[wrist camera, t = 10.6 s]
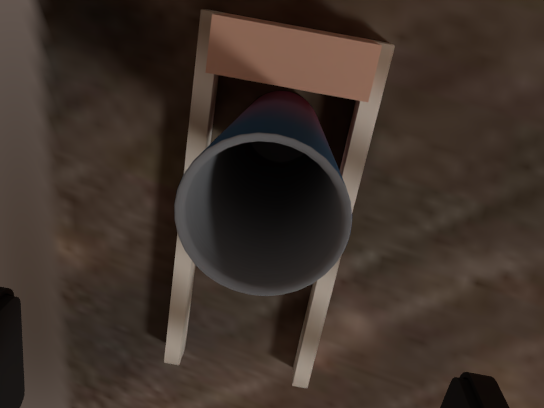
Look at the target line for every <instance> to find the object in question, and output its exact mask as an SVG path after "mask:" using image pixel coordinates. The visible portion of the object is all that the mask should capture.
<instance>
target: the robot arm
mask: <svg viewBox="0 0 544 408" xmlns="http://www.w3.org/2000/svg"><path fill="white" fill-rule="evenodd" d="M23 398H24V368H23V346H22V325H21V303H20V299H19V298H18V297H14V293H13V291H12V290H11V289H9V288H4V287H0V408H20V406H21V404H22V401H23ZM440 408H509V406H508V404H507V402H506V400H505V398H504V396H503V394H502V392H501V390H500V388H499V386H498V384H497V382H496V380H495V379H494V378H493V377H491V376H485V375H480V374H474V373H469V372H464V373H462V374H461V376H460V378H457V377H454V378H453V379H452V381H451V383H450V385H449V388H448V390H447V392H446V395H445V397H444V400H443V402H442V405H441V407H440Z"/></svg>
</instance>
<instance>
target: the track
mask: <svg viewBox="0 0 544 408" xmlns="http://www.w3.org/2000/svg"><path fill="white" fill-rule="evenodd" d="M394 47H395V45H393V44H391V43H387V42H381V41H376V40H370V39H365V38H360V37H354V36H349V35H343V34H338V33H332V32H327V31H322V30H316V29H311V28H305V27H300V26H294V25H289V24H283V23H278V22H273V21H267V20H262V19H256V18H251V17H245V16H240V15H235V14H229V13H224V12H218V11H213V10H201V14H200V23H199V33H198V42H197V52H196V61H195V71H194V81H193V90H192V100H191V109H190V119H189V128H188V138H187V148H186V157H185V167H184V173H185V172H186V170H187V169H188V167H189V166H190V165H191V163H192V162H193V161H194V160H195V159H196V158H197V157H198V156H199V155H200V154H201V153H202V152H203V151H204V150H205V149H206V148H207V147H208V146H209V145H210V143H211V135H212V127H213V119H214V111H215V103H216V95H217V87H218V79H219V75H221V76H227V77H232V78H238V79H243V80H249V81H254V82H260V83H265V84H270V85H276V86H281V87H287V88H292V89H298V90H303V91H309V92H314V93H320V94H325V95H330V96H336V97H341V98H347V99H352V100H356V102H355V107H354V111H353V115H352V119H351V124H350V128H349V132H348V136H347V140H346V145H345V149H344V153H343V157H342V162H341V166H340V170H339V171H340V173H341V176H342V178H343V181H344V183H345V185H346V188H347V191H348V195H349V198H350V201H351V210H352V211H353V208H354V204H355V200H356V196H357V192H358V188H359V184H360V180H361V176H362V172H363V168H364V165H365V161H366V157H367V153H368V149H369V145H370V141H371V137H372V133H373V129H374V125H375V122H376V118H377V114H378V110H379V106H380V102H381V98H382V94H383V90H384V86H385V82H386V79H387V75H388V71H389V67H390V63H391V59H392V55H393V51H394ZM340 258H341V256H340ZM340 258H339V260H338V261H337V263H336V264H335V265H334V266H333V267H332V268H331V269H330V270H329V271H328V272H327V273H326V274H325V275H324V276H323V277H321V278H320V279H318V280H317V281H316V282H314V283H313V285H312V289H311V293H310V297H309V302H308V306H307V310H306V314H305V319H304V323H303V327H302V331H301V335H300V340H299V344H298V348H297V352H296V357H295V361H294V365H293V377H292V386H297V387H302V388H307V387H308V383H309V380H310V376H311V372H312V368H313V364H314V360H315V356H316V352H317V348H318V344H319V340H320V337H321V333H322V329H323V325H324V321H325V317H326V313H327V309H328V305H329V301H330V297H331V294H332V290H333V286H334V282H335V278H336V274H337V270H338V266H339V262H340ZM194 272H195V264H194V263H193V261H192V260H191V258H190V257H189V256H188V254H187V253H186V251H185V250H184V248H183V245H182V243H181V241H180V239H179V237H178V234H177V243H176V253H175V263H174V272H173V282H172V291H171V301H170V310H169V320H168V330H167V339H166V349H165V358H164V363H170V364H175V365H179V364H180V361H181V359H182V356H183V353H184V350H185V345H186V337H187V329H188V321H189V313H190V305H191V297H192V288H193V280H194Z"/></svg>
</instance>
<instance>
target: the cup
mask: <svg viewBox="0 0 544 408" xmlns="http://www.w3.org/2000/svg"><path fill="white" fill-rule="evenodd" d="M174 214H175V224H176V228H177V233H178V237H179V239H180V241H181V243H182V245H183V248H184V250H185V251H186V253H187V254H188V256H189V257H190V258H191V260H192V261H193V263H194V264H195V265H196V266H197V267H198V268H199V269H200V270H201V271H202V272H203V273H204V274H205V275H207V276H208V277H210V278H211V279H213V280H214V281H216V282H217V283H219V284H221V285H223V286H225V287H227V288H230V289H232V290H234V291H238V292H242V293H246V294H249V295H260V296H272V295H283V294H287V293H290V292H294V291H298V290H300V289H302V288H304V287H307V286H309V285H311V284H313V283H314V282H316V281H317V280H318V279H320V278H321V277H323V276H324V275H325V274H326V273H327V272H328V271H329V270H330V269H331V268H332V267H333V266H334V265H335V264H336V263H337V261H338V260H339V258H340V256H341V255H342V253H343V252H344V250H345V247H346V245H347V242H348V239H349V236H350V232H351V224H352V210H351V201H350V198H349V195H348V191H347V188H346V185H345V183H344V181H343V178H342V176H341V173H340V171H339V168H338V166H337V164H336V161H335V159H334V156H333V154H332V152H331V149H330V147H329V144H328V142H327V140H326V137H325V135H324V132H323V130H322V127H321V125H320V123H319V120H318V118H317V115H316V113H315V111H314V109H313V108H312V106H311V105H310V104H309V103H308V102H307V101H306V100H305V99H304V98H303V97H301V96H299V95H297V94H295V93H292V92H289V91H273V92H269V93H266V94H264V95H262V96H261V97H259V98H258V99H257V100H256V101H254V102H253V103H252V104H251V105H250V106H249V107H248V108H247V109H246V110H245V111H244V112H243V113H242V114H241V115H240V116H239V117H238V118H237V119H236V120H235V121H234V122H233V123H232V124H231V125H230V126H229V127H228V128H226V129H225V130H224V131H223V132H222V133H221V134H220V135H219V136H218V137H217V138H216V139H215V140H214V141H213V142H212V143H211V144H210V145H209V146H208V147H207V148H206V149H205V150H204V151H203V152H202V153H201V154H200V155H199V156H198V157H197V158H196V159H195V160H194V161H193V162H192V163H191V165H190V166H189V167H188V169H187V170H186V172H185V173H184V175H183V177H182V179H181V182H180V184H179V186H178V189H177V193H176V198H175V203H174Z"/></svg>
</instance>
